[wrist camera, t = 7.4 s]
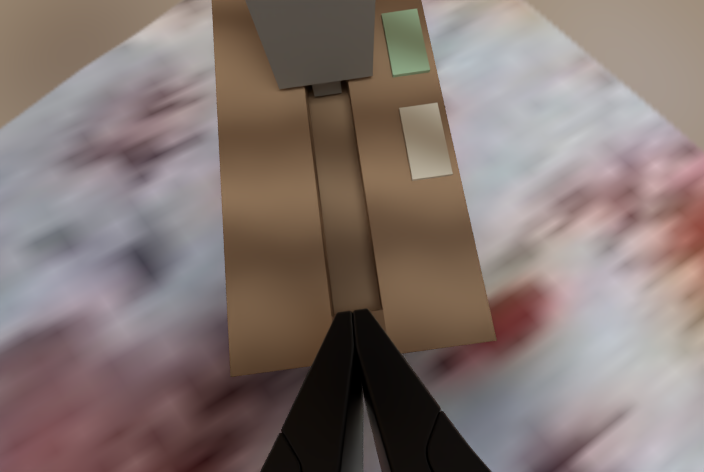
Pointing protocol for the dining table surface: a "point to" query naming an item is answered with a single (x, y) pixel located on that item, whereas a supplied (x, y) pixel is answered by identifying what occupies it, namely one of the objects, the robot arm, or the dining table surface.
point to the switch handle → (316, 41)
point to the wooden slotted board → (341, 200)
